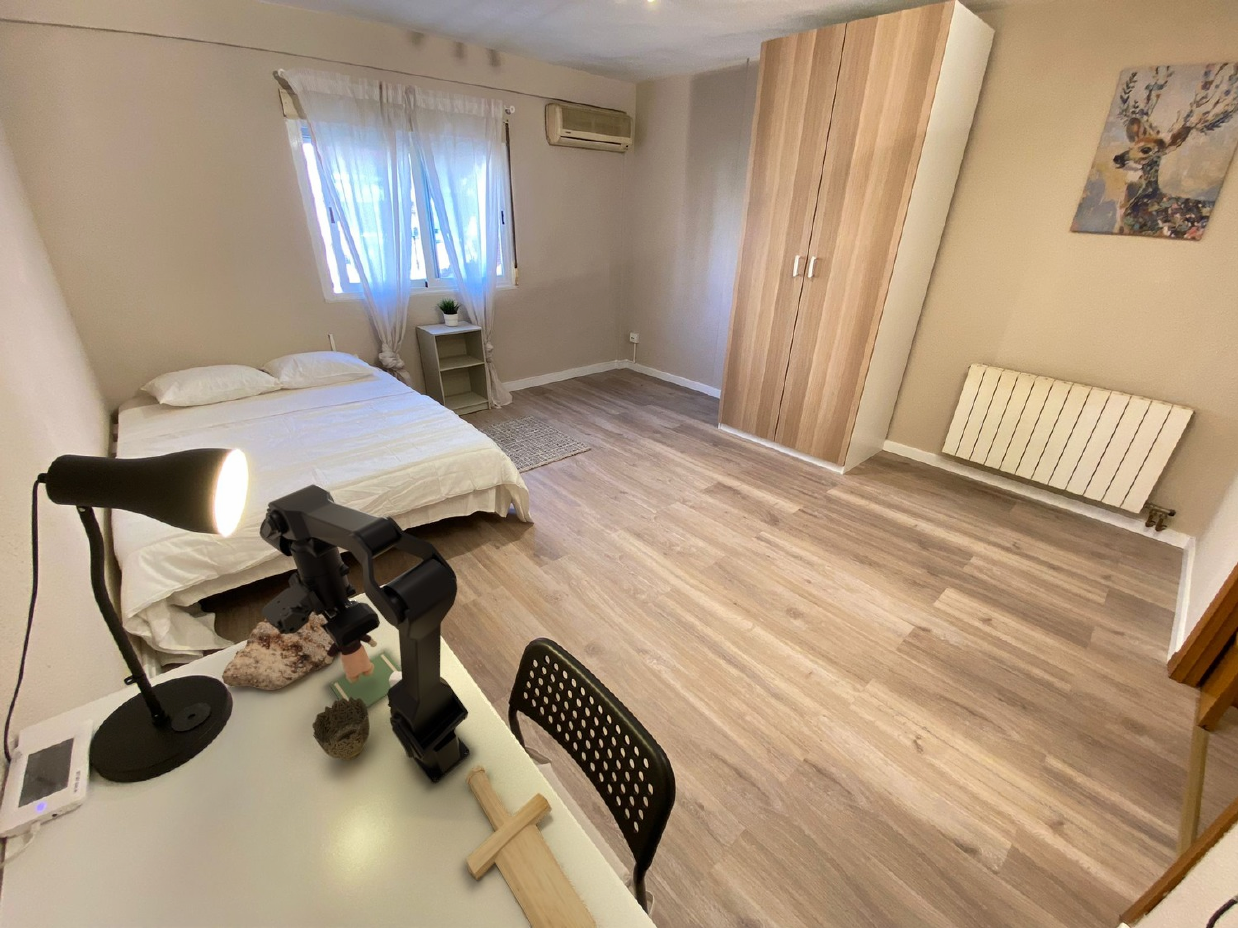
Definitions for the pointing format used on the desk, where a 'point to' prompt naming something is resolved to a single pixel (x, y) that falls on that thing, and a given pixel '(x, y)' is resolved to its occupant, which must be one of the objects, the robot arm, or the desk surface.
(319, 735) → the cup
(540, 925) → the toy sword
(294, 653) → the stone
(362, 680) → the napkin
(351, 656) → the grandmother figurine
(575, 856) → the desk surface
